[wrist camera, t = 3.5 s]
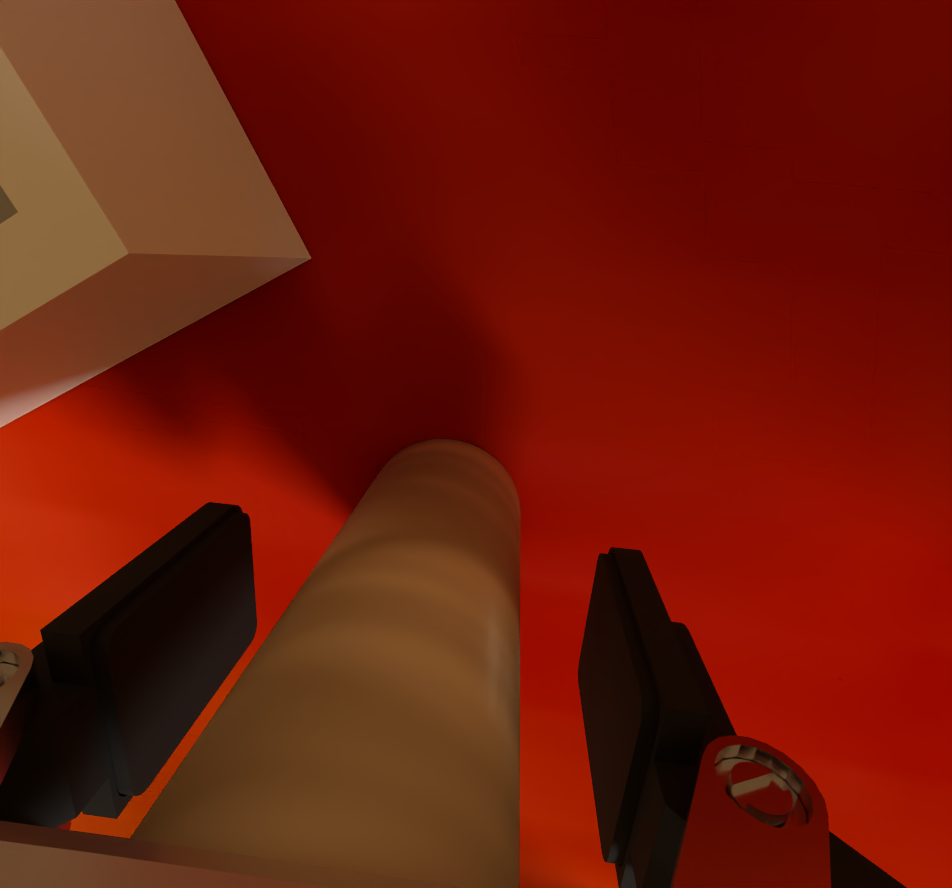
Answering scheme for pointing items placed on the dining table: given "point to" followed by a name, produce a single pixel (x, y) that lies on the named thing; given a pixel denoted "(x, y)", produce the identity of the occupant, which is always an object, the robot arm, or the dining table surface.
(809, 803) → the robot arm
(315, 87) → the dining table surface
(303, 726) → the peg
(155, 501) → the dining table surface
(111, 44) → the open top box
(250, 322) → the dining table surface
